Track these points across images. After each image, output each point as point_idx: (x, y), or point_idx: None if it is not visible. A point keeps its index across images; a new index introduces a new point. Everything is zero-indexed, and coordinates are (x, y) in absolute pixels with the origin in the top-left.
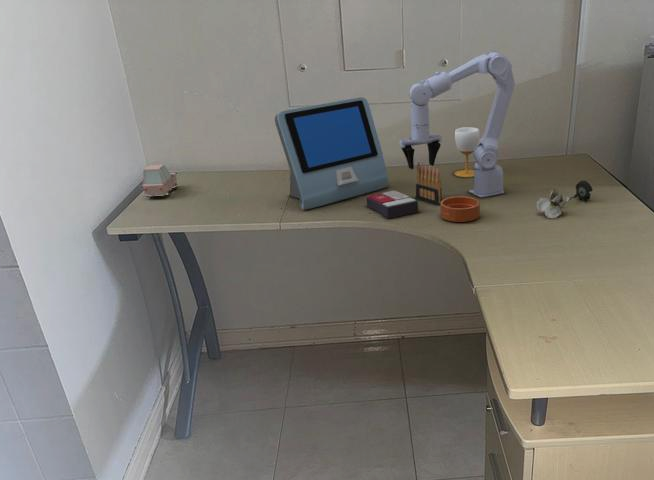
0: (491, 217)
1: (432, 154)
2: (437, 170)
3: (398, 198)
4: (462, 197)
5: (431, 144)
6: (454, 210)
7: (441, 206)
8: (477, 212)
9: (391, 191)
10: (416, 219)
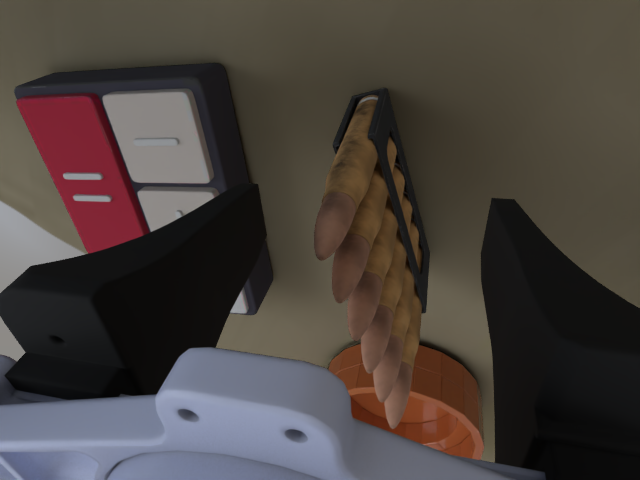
0: (492, 440)
1: (497, 346)
2: (388, 412)
3: None
4: (449, 411)
5: (518, 458)
6: None
7: None
8: None
9: (160, 101)
10: (242, 323)
